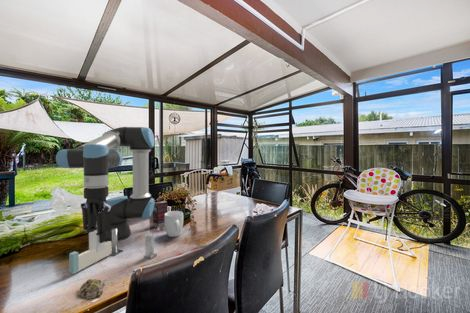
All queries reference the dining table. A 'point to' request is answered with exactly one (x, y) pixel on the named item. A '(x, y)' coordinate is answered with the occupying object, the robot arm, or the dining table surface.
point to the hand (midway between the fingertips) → (96, 249)
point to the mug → (173, 223)
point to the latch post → (150, 247)
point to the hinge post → (115, 243)
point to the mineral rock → (91, 289)
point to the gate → (87, 258)
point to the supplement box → (159, 213)
